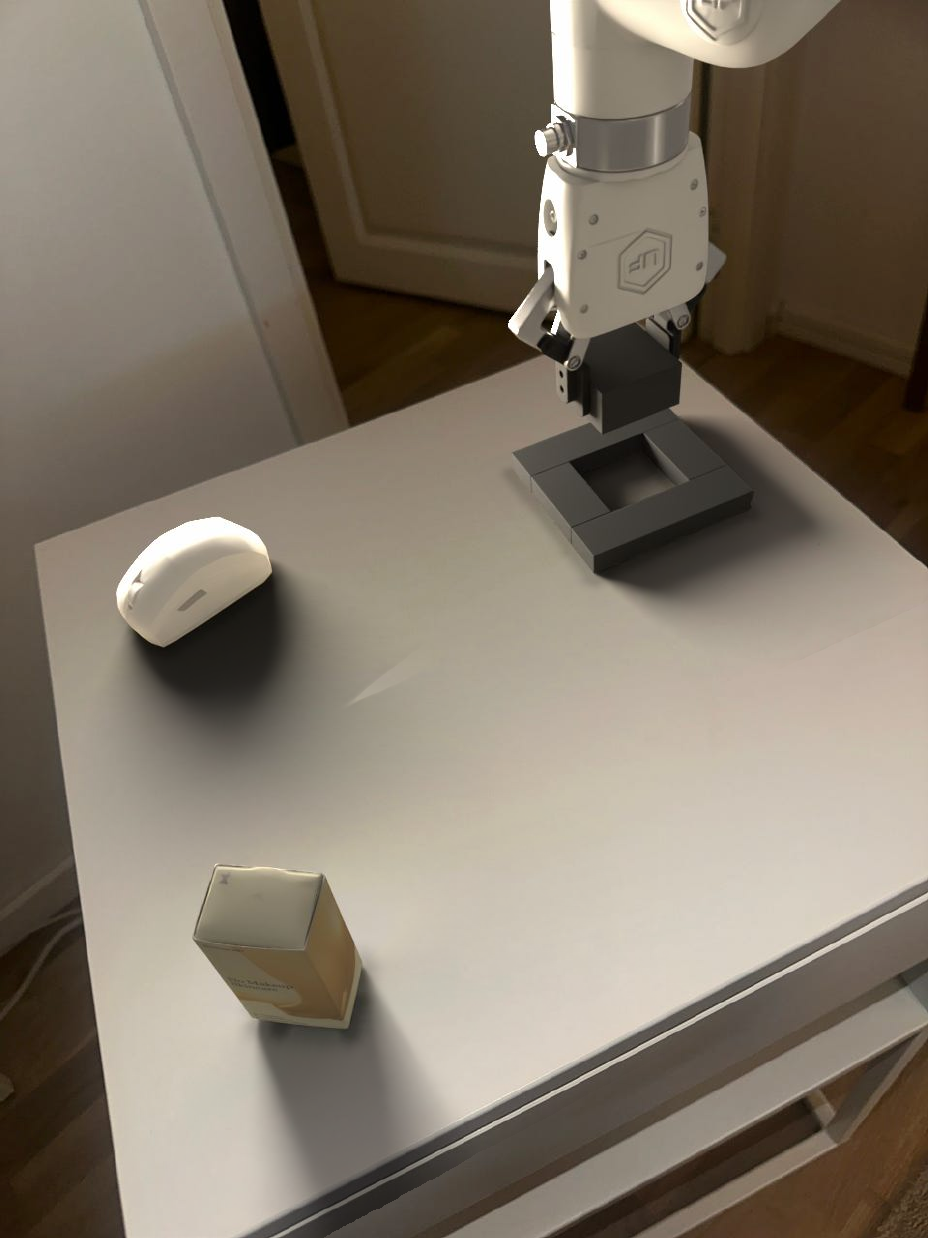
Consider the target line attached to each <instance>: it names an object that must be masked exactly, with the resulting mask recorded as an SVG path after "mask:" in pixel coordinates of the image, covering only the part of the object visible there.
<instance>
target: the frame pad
mask: <svg viewBox="0 0 928 1238" xmlns="http://www.w3.org/2000/svg"><path fill="white" fill-rule="evenodd" d="M640 451H643V453H645V454H646V455H647V456H648V457H649V459H650V460H651V461H652V462H653V463H654V464H655V465H656V466H657V467H658V468H659V469H660V470H661V472H663V474H665V476H666V477H667V478H668V479H669V480H670V481H671V482H672V483H673V484H674V485H675V486H673V487H670V488H668V489H665V490H663V491H660V492H658V493H655V494H652V495H650V496H647V497H646V498H643V499H640V500H638V501H636V502H633V503H631V504H628V505H625V506H623V507H621V508H618V509H616V510H613V511H611V510H610V509H609V507H608V506H607V504H605V503H604V501H603V500H602V499H601V498H600V496H599V495H598V494H597V493H596V492H595V491H594V489H593V488H592V487H591V486H590V485H589V484H588V482H587V481H586V480H585V479H584V477H582V474H585V473H588V472H590V471H592V470H595V469H597V468H600V467H602V466H605V465H607V464H610V463H612V462H615V461H617V460H620V459H623V458H625V457H628V456H631V455H633V454H636V453H639V452H640ZM511 460H512V461H511V463H512V464H511V465H512V470H513V471H514V473H515V474H516V475H517V476H518V478H519V480H521V481H522V483H523V484H524V485H525V487H526V488H527V489H528V491H529V492H530V493H531V494H532V496H533V497H534V498H535V499H536V501H537V502H538V503H539V505H540V506H541V507H542V509H543V510H544V511H545V512H546V514H547V515H548V516H549V517H550V519H551V520H552V521H553V523H554V524H555V525H556V526H557V528H558V530H560V532H561V533H562V534H563V536H564V537H565V538H566V539H567V541H568V542H569V543H570V544H571V546H572V547H573V548H574V550H575V551H576V553H577V554H578V555H579V556H580V557H581V559H582V560H583V562H584V563H585V564H586V565H587V567H588V568H589V569H590V570H591V572H592V573H593V574H596V573H598V572H602V571H604V570H606V569H609V568H611V567H613V566H617V565H619V564H621V563H623V562H625V561H628V560H631V559H632V558H635V557H637V556H640V555H642V554H645V553H647V552H650V551H652V550H654V549H657V548H659V547H661V546H664V545H667V544H669V543H671V542H673V541H676V540H678V539H681V538H683V537H685V536H688V535H690V534H693V533H695V532H698V531H700V530H702V529H704V528H707V527H709V526H712V525H715V524H717V523H719V522H721V521H724V520H727V519H729V518H731V517H733V516H736V515H738V514H740V513H743V512H745V511H748V510H751V508H752V504H753V498H754V493H755V492H754V489H753V488H752V487H751V486H749V484H747V483H746V481H744V480H743V478H741V476H739V474H737V473H736V472H735V471H734V469H732V468H731V467H730V466H729V465H728V464H727V463H726V462H725V461H724V460H723V459H722V458H721V457H720V456H719V455H718V454H717V453H716V452H715V451H714V450H713V449H712V448H711V447H710V446H709V445H707V443H706V442H705V441H704V440H702V438H701V437H699V436H698V435H697V434H696V432H695V431H693V430H692V429H691V428H690V427H689V426H688V425H687V424H686V423H685V422H684V421H683V420H682V419H681V418H680V417H679V416H678V415H677V414H676V413H675V411H673V410H672V409H671V408H668V409H665V410H663V411H660V412H658V413H655V414H653V415H650V416H648V417H646V418H643V419H641V420H638V421H636V422H633V423H631V424H628V425H626V426H623V427H621V428H618V429H616V430H613V431H611V432H608V433H606V434H603V435H602V434H601V433H600V432H599V431H598V430H597V429H596V428H595V427H594V425H593V424H592V423H591V422H590V421H589V422H587V423H585V424H582V425H580V426H577V427H574V428H572V429H569V430H566V431H563V432H561V433H558V434H556V435H554V436H551V437H548V438H546V439H543V440H540V441H537V442H535V443H532V444H530V445H527V446H524V447H522V448H519V449H517V450H514V451H512V452H511Z"/></svg>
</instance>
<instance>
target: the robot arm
mask: <svg viewBox="0 0 928 1238" xmlns="http://www.w3.org/2000/svg"><path fill="white" fill-rule="evenodd" d="M549 1H550V24H551V28H550V29H551V51H552V53H551V54H552V75H553V78H552V79H553V103H552V104H551V123H548V124H547V126H546V127H545V128H541V129H538V130H537V131H536V132H535V135H534V141H535V145H536V149H537V151H538V153H539V155H540V156H542V157H545V156H548V155H551V154H553V155H551V156H549V157H548V158H547V162H546V167H545V171H544V177H543V184H542V191H541V198H540V199H541V200H540V208H539V209H540V210H539V219H538V221H539V222H538V238H537V239H538V240H537V241H538V242H537V244H538V245H537V246H538V247H537V251H538V252H537V274H538V275H537V276H538V277H537V278H538V280H537V281H536V283H535V284H534V286H533V287H532V288H531V290H530V291H529V293H528V294H527V296H526V297H525V299H524V300H523V301H522V303H521V305H520V306H519V307H518V309H517V311H516V312H515V313H514V315H513V316H512V317H511V319H510V320H509V323H508V329H509V330H510V331H511V332H512V333H513V334H514V335H515V337H516V338H517V339H518V340H520V341H521V342H523V343H525V344H527V345H528V346H529V347H532V348H533V349H536V350H537V351H539V352H541V354H543V355H544V356H546V357H548V358H550V359H551V360H553V361H554V363H555V380H556V381H555V382H556V392H557V396H558V398H559V399H560V400H561V402H562V403H564V404H565V405H567V404H568V405H569V406H570V407H571V408H572V409H573V410H574V411H575V412H576V413H577V414H578V415H579V417H580V418H584V417H585V416H586V415H588V414H589V412H590V382H591V371H590V367H589V366H588V364H587V363H586V362H584V361H583V359H584V357H585V354H586V351H587V348H588V345H589V343H590V340H591V337H595V336H598V335H601V334H604V333H607V332H610V331H612V330H615V329H618V328H621V327H623V326H626V325H629V324H631V323H634V322H636V323H638V322H639V321H642V320H644V319H645V331H646V332H647V333H648V334H649V335H650V336H652V337H653V338H654V339H655V340H656V341H657V342H659V343H660V344H661V345H662V346H663V347H664V348H665V349H667V350H668V351H669V352H670V353H671V354H672V355H674V356H675V357H676V358H677V359H678V360H679V361H680V357H681V346H682V345H681V344H682V332H683V331H682V330H684V329H686V328H687V327H688V326H689V324H690V323H691V321H692V317H691V312H692V311H693V310H694V308H695V307H696V306H697V304H698V303H699V302H700V301H701V299H703V297H704V295H705V294H706V292H707V289H708V284H709V283H711V282H712V280H713V279H714V278H715V277H716V275H717V274H718V273H719V271H721V269H722V267H723V266H724V265H725V263H726V261H727V254H726V253H725V252H723V250H721V249H720V248H718V246H716V245H715V244H714V243H713V242H711V241H710V240H709V196H708V195H709V194H708V193H709V192H708V184H707V182H708V181H707V174H706V166H705V165H706V164H705V157H704V153H703V145H702V140H701V138H700V137H699V135H698V134H696V133H695V132H693V131H691V130H690V125H691V111H692V98H693V97H692V94H693V77H694V62H695V60H696V61H697V60H698V61H700V62H703V63H706V64H710V65H714V66H718V67H723V68H729V69H747V68H752V67H758V66H761V65H764V64H766V63H769V62H771V61H772V60H775V59H778V57H781V56H782V55H784V54H785V53H786V52H788V50H791V48H793V47H794V46H795V45H796V44H797V43H798V42H799V41H801V39H803V38H804V37H805V36H806V35H807V34H808V33H809V32H810V31H811V30H812V29H813V28H814V27H815V26H816V25H817V24H819V22H821V21H822V20H823V19H824V18H825V17H826V16H827V15H828V13H830V12H831V11H832V10H833V8H834V7H836V6H837V5H838V4H839V3H841V1H842V0H549ZM556 311H557V313H556V316H555V318H554V322H553V325H552V328H551V330H550V329H548V328H546V327H544V326H542V324H543V322H544V320H545V319H546V317H547V316H548V314H549V313H550V312H556Z"/></svg>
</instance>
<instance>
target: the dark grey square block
mask: <svg viewBox="0 0 928 1238" xmlns="http://www.w3.org/2000/svg"><path fill="white" fill-rule="evenodd" d="M583 361H584V362H586V363H587V364H588V366H589V367H590V371H591V382H590V412H589V414H588V415H586V416H584V417H585V418H586V419H587V420H588V421H589V423H590V422H591V423H592V424H593V425H594V427H595V428H596V429H597V430H598V431H599V432H600V433H601V434H602V435H603V434H606V433H608V432H611V431H613V430H616V429H618V428H621V427H623V426H626V425H628V424H631V423H633V422H636V421H638V420H641V419H643V418H646V417H648V416H650V415H653V414H655V413H658V412H660V411H663V410H665V409H668V408H669V409H671V408H672V407H673V408H674V407H675V406H678V405H680V399H681V386H682V375H683V372H682V371H683V362H682V361H681V360H680V359H679V360H678V359H677V358H676V357H675V356H674V355H672V354H671V353H670V352H669V351H668V350H667V349H665V348H664V347H663V346H662V345H661V344H660V343H659V342H657V341H656V340H655V339H654V338H653V337H652V336H650V335H649V334H648V333H647V332H646V329H644V328H643V327H642V326H641V325H639V324H638V322H634V323H631V324H629V325H626V326H623V327H621V328H618V329H615V330H612V331H610V332H607V333H604V334H601V335H598V336H595V337H591V340H590V343H589V345H588V348H587V351H586V354H585V357H584V359H583Z"/></svg>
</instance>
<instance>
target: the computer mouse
mask: <svg viewBox="0 0 928 1238" xmlns="http://www.w3.org/2000/svg"><path fill="white" fill-rule="evenodd" d="M272 573H273V569H272V565H271V562H270V558H269V554H268V551H267V547H266V545H265V543H264V542H263V541H262V540H261V538H260V537H259V536H258V534H256V533H254V532H253V531H252V530H250V529H247V528H245V527H243V526H241V525H238V524H236V523H233V522H232V521H229V520H226V519H224V518H222V517H219V516H216V517H215V516H214V517H210V518H204V519H199V520H193V521H188V522H186V523H184V524H182V525H180V526H178V527H176V528H174V529H171V530H169V531H167V532H166V533H164V534H162V535H160V536H159V537H158V538H157V539H155V540H154V541H153V542H152V543H151V544H150V545H149V546H147V548H145V550H144V551H142V553H141V554H140V555H139V556H138V558H136V560H135V561H134V562H133V564H132V565H131V566H130V567H129V569H128V570H127V572H126V573H125V574H124V576H123V578H122V579H121V581H120V583H119V584H118V586H117V588H116V589H117V590H116V603H117V604H116V605H117V609H118V612H119V613H120V614H121V616H122V617H123V619H124V621H125V622H126V623H127V624H128V625H129V627H130V628H132V629H133V630H134V632H137V634H139V635H140V636H141V637H142V638H143V639H145V640H146V641H147V642H149V643H151V644H153V645H155V646H159V647H161V648H165V647H167V646H169V645H171V644H172V643H174V642H176V641H178V640H179V639H180V638H182V637H183V636H186V635H187V634H188V633H190V632H192V631H193V630H195V629H197V628H198V627H200V626H201V625H203V624H204V623H205V622H207V621H208V620H210V619H211V618H213V617H214V616H216V615H218V614H219V613H220V612H222V611H223V610H225V609H226V608H228V607H229V606H231V605H232V604H233V603H235V602H237V601H238V600H239V599H241V598H242V597H244V596H245V595H248V593H250V592H251V591H253V590H254V589H255V588H257V587H259V586H260V585H262V584H263V583H265V581H266V580H267V579H268V578H269V577H270V575H271V574H272Z"/></svg>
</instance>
